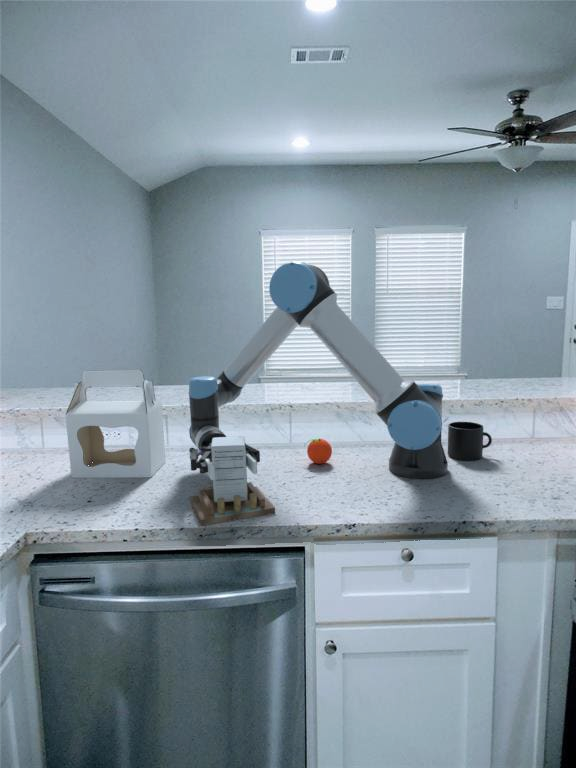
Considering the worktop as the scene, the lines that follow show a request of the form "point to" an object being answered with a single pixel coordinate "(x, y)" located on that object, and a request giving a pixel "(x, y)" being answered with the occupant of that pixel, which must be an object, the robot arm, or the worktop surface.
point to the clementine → (319, 451)
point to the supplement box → (229, 468)
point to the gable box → (113, 414)
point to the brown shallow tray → (229, 506)
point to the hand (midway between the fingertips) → (234, 470)
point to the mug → (466, 441)
